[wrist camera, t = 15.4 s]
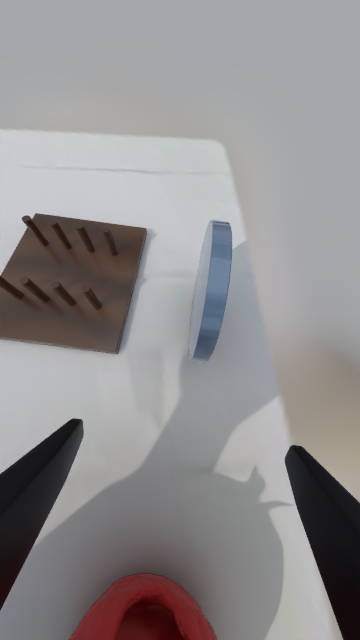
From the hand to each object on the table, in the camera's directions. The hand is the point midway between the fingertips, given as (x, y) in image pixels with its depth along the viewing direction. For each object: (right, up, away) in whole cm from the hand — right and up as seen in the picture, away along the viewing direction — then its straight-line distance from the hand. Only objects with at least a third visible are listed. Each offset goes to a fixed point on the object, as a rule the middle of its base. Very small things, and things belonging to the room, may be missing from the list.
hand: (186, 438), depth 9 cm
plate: (+1, +4, +13) cm, 14 cm away
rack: (-12, +10, +14) cm, 21 cm away
